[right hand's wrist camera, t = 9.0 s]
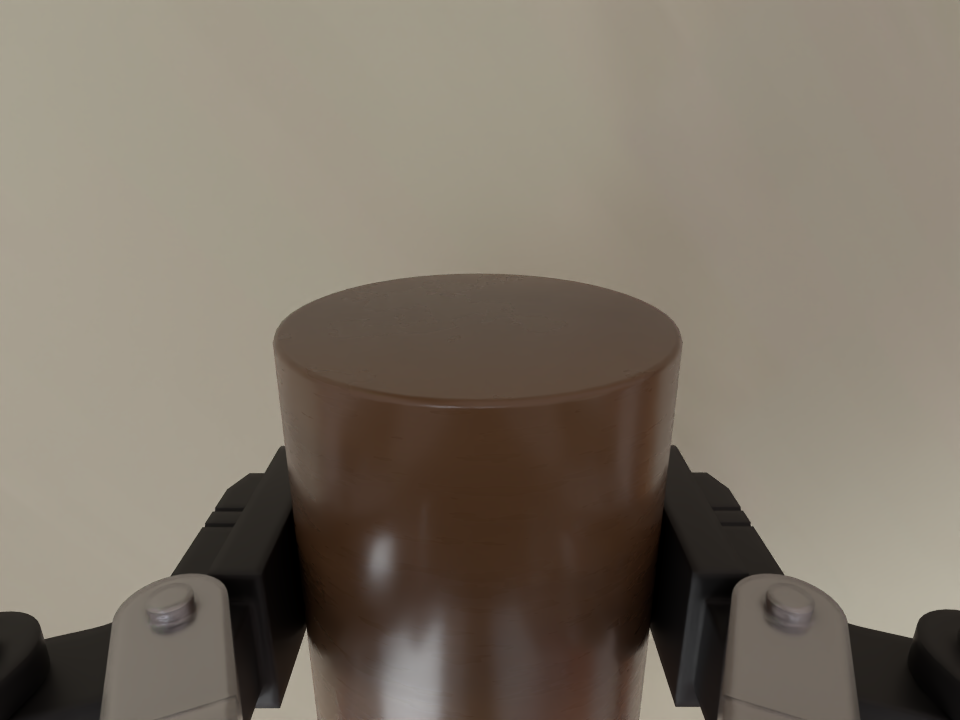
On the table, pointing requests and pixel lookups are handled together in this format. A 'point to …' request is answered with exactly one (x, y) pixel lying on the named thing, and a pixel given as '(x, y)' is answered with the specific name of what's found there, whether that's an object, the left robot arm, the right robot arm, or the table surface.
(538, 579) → the rod
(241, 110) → the table surface
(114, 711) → the right robot arm
